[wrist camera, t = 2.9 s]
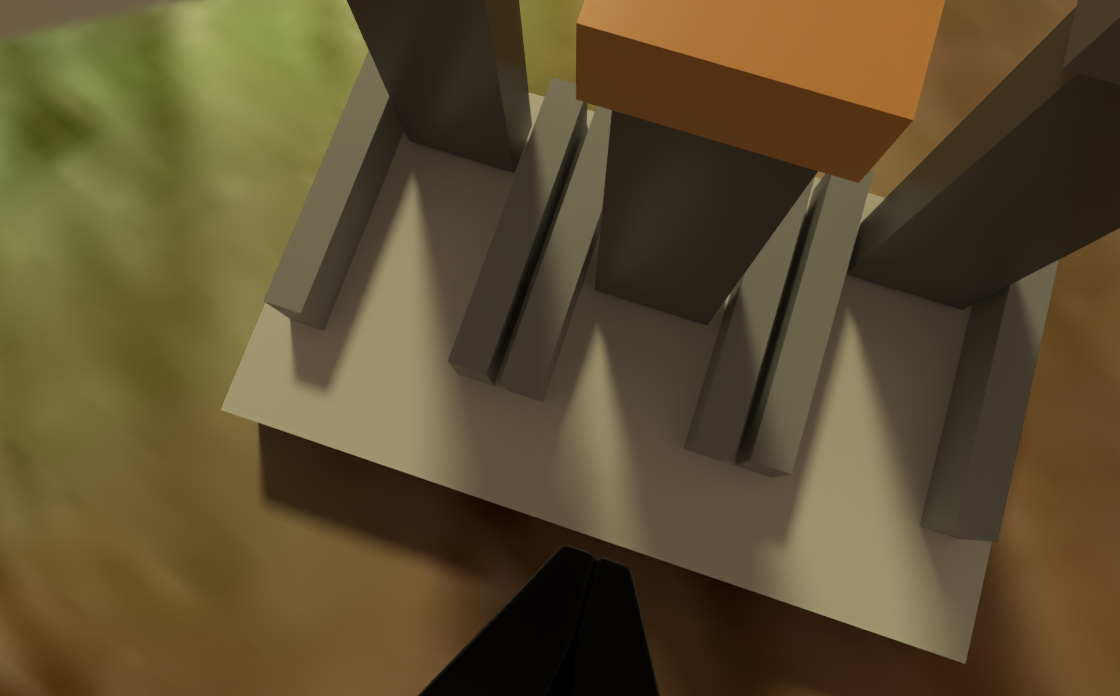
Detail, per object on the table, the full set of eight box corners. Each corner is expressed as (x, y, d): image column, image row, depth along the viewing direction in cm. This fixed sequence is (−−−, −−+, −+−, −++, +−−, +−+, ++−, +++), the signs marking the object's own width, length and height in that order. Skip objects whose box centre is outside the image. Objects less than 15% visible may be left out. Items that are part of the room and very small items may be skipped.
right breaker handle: (975, 327, 17) (1511, 82, 7) (826, 282, 17) (1152, -13, 7) (993, 250, 17) (1529, -83, 7) (847, 206, 17) (1185, -170, 8)
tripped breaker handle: (718, 343, 17) (913, 120, 7) (574, 297, 17) (577, 22, 7) (742, 265, 17) (957, -47, 7) (600, 222, 17) (633, -135, 8)
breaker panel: (921, 647, 18) (1005, 679, 14) (257, 420, 19) (187, 400, 15) (1006, 275, 19) (1101, 224, 16) (392, 90, 20) (355, 6, 17)
